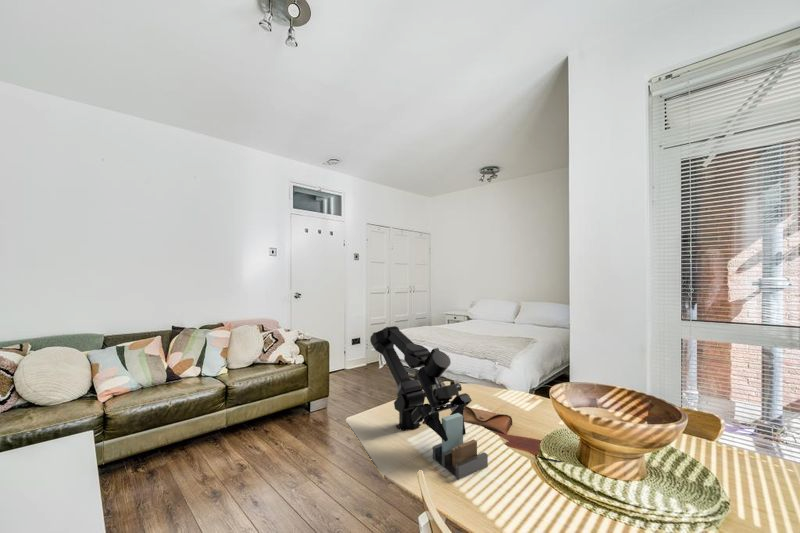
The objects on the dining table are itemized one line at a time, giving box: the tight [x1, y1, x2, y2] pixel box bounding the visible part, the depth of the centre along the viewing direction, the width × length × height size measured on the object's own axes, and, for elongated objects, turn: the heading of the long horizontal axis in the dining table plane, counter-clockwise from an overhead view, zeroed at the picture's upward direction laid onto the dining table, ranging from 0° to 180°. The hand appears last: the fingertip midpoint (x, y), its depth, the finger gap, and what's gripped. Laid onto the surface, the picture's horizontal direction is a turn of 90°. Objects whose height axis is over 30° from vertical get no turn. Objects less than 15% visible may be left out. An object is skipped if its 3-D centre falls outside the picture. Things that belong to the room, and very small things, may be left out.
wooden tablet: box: [492, 431, 543, 457], centre depth 97 cm, size 27×10×2 cm, turn 65°
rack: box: [432, 442, 489, 480], centre depth 87 cm, size 11×10×4 cm
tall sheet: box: [441, 413, 464, 453], centre depth 89 cm, size 2×6×11 cm, turn 121°
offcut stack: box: [452, 439, 478, 469], centre depth 85 cm, size 4×6×6 cm, turn 121°
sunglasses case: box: [463, 405, 513, 434], centre depth 111 cm, size 18×7×7 cm
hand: (455, 437), depth 88 cm, fingers closed on tall sheet, 6 cm apart
